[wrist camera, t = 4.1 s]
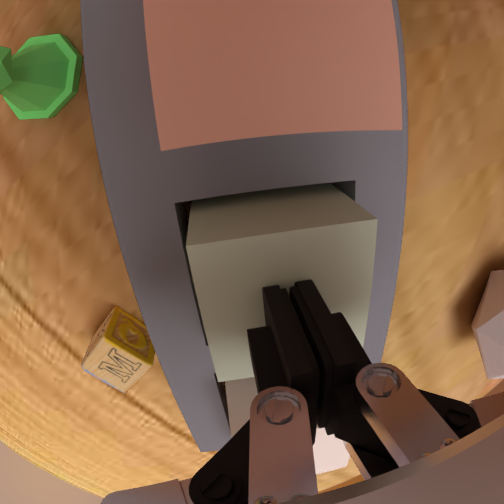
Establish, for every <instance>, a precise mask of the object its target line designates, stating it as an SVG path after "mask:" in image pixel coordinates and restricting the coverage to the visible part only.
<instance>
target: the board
mask: <svg viewBox="0 0 504 504" xmlns="http://www.w3.org/2000/svg"><path fill="white" fill-rule="evenodd" d="M80 1H81V27H82V42H83V55H84V65H85V75H86V83H87V91H88V99H89V106H90V112H91V119H92V125H93V131H94V137H95V142H96V147H97V153H98V158H99V163H100V168H101V172H102V177H103V182H104V186H105V190H106V195H107V199H108V203H109V207H110V211H111V215H112V219H113V223H114V227H115V230H116V234H117V238H118V241H119V245H120V248H121V252H122V255H123V258H124V262H125V265H126V268H127V272H128V275H129V278H130V281H131V284H132V287H133V290H134V293H135V296H136V299H137V302H138V305H139V308H140V311H141V314H142V317H143V320H144V322H145V325H146V328H147V330H148V333H149V336H150V339H151V341H152V344H153V346H154V349H155V351H156V354H157V357H158V359H159V362H160V364H161V366H162V369H163V371H164V374H165V376H166V379H167V381H168V383H169V386H170V388H171V390H172V392H173V395H174V397H175V399H176V401H177V404H178V406H179V408H180V410H181V412H182V415H183V417H184V419H185V421H186V423H187V425H188V427H189V429H190V431H191V433H192V435H193V437H194V439H195V441H196V443H197V445H198V447H199V449H200V451H201V452H207V451H217V450H220V449H221V448H222V447H223V446H224V445H225V444H226V443H227V442H228V441H229V440H230V439H231V431H230V422H229V414H228V405H227V397H226V393H225V389H224V385H223V382H218V379H217V376H216V372H215V368H214V364H213V361H212V357H211V353H210V349H209V345H208V341H207V337H206V333H205V329H204V325H203V321H202V317H201V312H200V308H199V304H198V300H197V295H196V291H195V286H194V282H193V277H192V273H191V268H190V264H189V259H188V254H187V249H186V241H187V232H188V224H187V218H186V213H185V207H184V202H185V201H191V200H197V199H204V198H210V197H217V196H224V195H231V194H238V193H245V192H253V191H261V190H268V189H277V188H285V187H294V186H303V185H312V184H321V183H331V184H332V185H333V186H335V187H336V188H337V189H339V190H340V191H341V192H343V193H344V194H346V195H347V196H348V197H350V198H351V199H352V200H354V201H355V202H356V203H357V204H359V205H360V206H361V207H363V208H364V209H365V210H367V211H368V212H369V213H370V214H372V215H373V216H374V217H376V218H377V235H376V248H375V259H374V270H373V279H372V288H371V296H370V304H369V312H368V319H367V326H366V332H365V339H364V345H363V349H364V351H365V352H366V354H367V356H368V358H369V359H370V361H371V363H372V364H374V363H381V358H382V354H383V350H384V345H385V341H386V336H387V331H388V326H389V321H390V316H391V311H392V305H393V300H394V294H395V288H396V281H397V274H398V267H399V260H400V252H401V244H402V235H403V225H404V213H405V200H406V184H407V159H408V110H407V86H406V70H405V58H404V48H403V39H402V30H401V23H400V15H399V9H398V3H397V0H391V1H392V7H393V14H394V21H395V28H396V36H397V45H398V55H399V67H400V81H401V101H402V130H361V131H332V132H313V133H298V134H286V135H274V136H264V137H255V138H246V139H237V140H229V141H222V142H214V143H207V144H201V145H194V146H188V147H182V148H176V149H170V150H165V151H161V149H160V143H159V137H158V130H157V123H156V117H155V109H154V102H153V95H152V87H151V79H150V71H149V62H148V53H147V43H146V32H145V21H144V8H143V0H80Z"/></svg>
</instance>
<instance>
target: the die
mask: <svg viewBox="0 0 504 504" xmlns="http://www.w3.org/2000/svg"><path fill="white" fill-rule="evenodd" d="M471 327H472V330H473V332H474V335H475V338H476V342H477V345H478V348H479V351H480V354H481V357H482V361H483V364H484V368H485V371H486V375H487V379H496V378H504V270H497V271H491V273H490V276H489V279H488V282H487V285H486V287H485V290H484V293H483V296H482V298H481V301H480V304H479V306H478V309H477V311H476V314H475V316H474V319H473V321H472V323H471Z"/></svg>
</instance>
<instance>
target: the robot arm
mask: <svg viewBox="0 0 504 504" xmlns="http://www.w3.org/2000/svg"><path fill="white" fill-rule="evenodd" d="M262 294H263V304H264V314H265V324H266V326H263V327H257V328H251V329H247V337H248V344H249V350H250V356H251V362H252V367H253V372H254V377H255V382H256V387H257V392H258V395H256V396H255V398H254V399H253V401H252V403H251V407H250V419H249V420H248V421H247V422H246V423H245V424H244V425H243V426H242V428H241V429H240V430H239V431H238V432H237V433H236V434H235V435H234V436H233V437H232V438H231V439H230V440H229V441H228V442H227V443H226V444H225V445H224V446H223V447H222V448H221V449H220V450H219V451H218V452H217V453H216V454H215V455H214V456H213V457H212V458H211V459H210V460H209V461H208V462H207V463H206V464H205V465H204V466H203V467H202V468H201V469H200V470H199V471H198V472H197V473H196V474H195V475H194V476H193V478H190V479H186V480H182V481H179V480H178V479H175V480H171V481H167V482H163V483H158V484H154V485H149V486H144V487H139V488H133V489H128V490H122V491H116V492H113V493H110V494H108V495H107V496H106V497H105V498H104V499H103V500H102V503H101V504H504V392H501V393H498V394H494V395H491V396H487V397H483V398H479V399H475V400H472V401H471V402H470V404H466V403H464V402H462V401H458V400H455V399H451V398H447V397H444V396H440V395H437V394H433V393H430V392H426V391H423V390H420V389H417V388H416V387H415V386H414V385H413V384H412V383H411V381H410V380H409V379H408V378H407V377H406V376H405V375H404V373H403V372H402V371H401V370H399V369H398V368H397V367H395V366H393V365H391V364H386V363H374V364H372V363H371V361H370V359H369V358H368V356H367V354H366V352H365V351H364V349H363V347H362V346H361V344H360V342H359V340H358V339H357V337H356V335H355V334H354V332H353V330H352V329H351V327H350V325H349V324H348V322H347V320H346V319H345V317H344V315H343V314H342V313H341V312H337V313H332V314H331V312H330V310H329V309H328V307H327V305H326V303H325V302H324V300H323V298H322V296H321V294H320V293H319V291H318V289H317V287H316V286H315V284H314V282H313V281H312V279H309V280H303V281H297V282H295V286H293V287H290V297H289V295H288V292H287V290H286V288H282V289H280V287H279V285H274V286H268V287H262ZM317 425H318V427H319V428H325V430H326V433H327V436H328V435H332V434H334V435H335V437H336V438H338V439H340V440H343V443H344V446H345V448H346V450H347V451H348V453H349V455H350V456H351V458H352V460H353V461H354V463H355V464H356V466H357V468H358V469H359V471H360V473H361V474H362V476H363V477H364V479H365V481H362V482H359V483H355V484H352V485H349V486H346V487H342V488H339V489H336V490H332V491H328V492H324V493H321V494H318V489H317V480H316V471H315V462H314V454H313V445H314V443H315V438H316V428H317Z"/></svg>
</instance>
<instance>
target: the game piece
mask: <svg viewBox="0 0 504 504" xmlns="http://www.w3.org/2000/svg"><path fill="white" fill-rule="evenodd" d="M82 61H83V57H82V56H81V55H80V53H79V52H78V51H77V50H76V49H75V47H74V46H73V45H72V44H71V42H70V41H69V40H68V39H67V37H66V36H64V35H61V34H52V35H45V36H38V37H31V38H29V39H28V40H27V41H26V42H25V43H24V45H23V46H22V47H21V48H20V49H19V50H18V51H17V53H16V54H14V55H12V56H11V48H6V47H2V46H0V94H1V95H3V98H4V99H5V101H6V102H7V103H8V105H9V106H10V108H11V109H12V110H13V112H14V113H15V114H16V116H17V117H18V119H39V118H51V117H55V116H56V115H57V113H58V112H59V111H60V110H61V109H62V108H63V107H64V106H65V105H66V104H67V103H68V102H69V101H70V100H71V99H72V98H73V97H74V96H75V95H76V94H77V93H78V89H79V81H80V74H81V67H82Z"/></svg>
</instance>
